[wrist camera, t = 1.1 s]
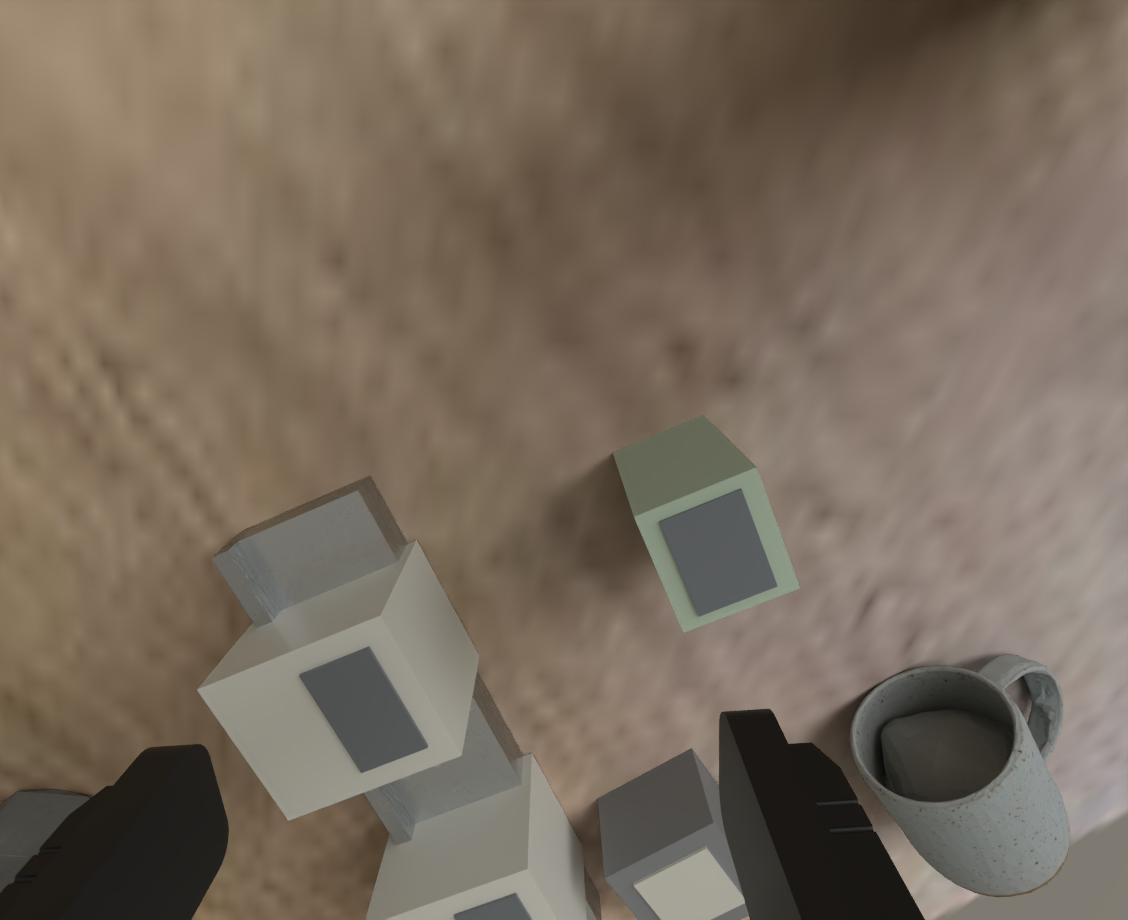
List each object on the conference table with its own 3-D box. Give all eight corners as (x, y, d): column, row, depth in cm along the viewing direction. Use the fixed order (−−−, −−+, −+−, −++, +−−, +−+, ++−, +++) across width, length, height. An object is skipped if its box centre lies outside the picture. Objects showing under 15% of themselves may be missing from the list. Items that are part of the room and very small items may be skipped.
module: (703, 414, 30) (758, 468, 22) (739, 508, 31) (801, 590, 23) (612, 452, 30) (634, 518, 23) (651, 543, 32) (684, 635, 24)
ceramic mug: (893, 813, 37) (982, 949, 29) (822, 714, 35) (898, 834, 27) (1066, 715, 35) (1205, 833, 28) (1002, 606, 33) (1134, 702, 26)
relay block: (691, 746, 35) (714, 825, 30) (744, 820, 37) (774, 906, 32) (597, 796, 36) (604, 881, 31) (652, 866, 38) (668, 957, 33)
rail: (370, 475, 30) (351, 498, 27) (599, 895, 38) (603, 947, 35) (242, 530, 31) (211, 558, 28) (493, 932, 39) (488, 986, 36)
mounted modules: (416, 540, 31) (379, 617, 24) (582, 846, 37) (589, 979, 30) (270, 600, 32) (194, 692, 25) (454, 891, 38) (433, 1031, 31)
